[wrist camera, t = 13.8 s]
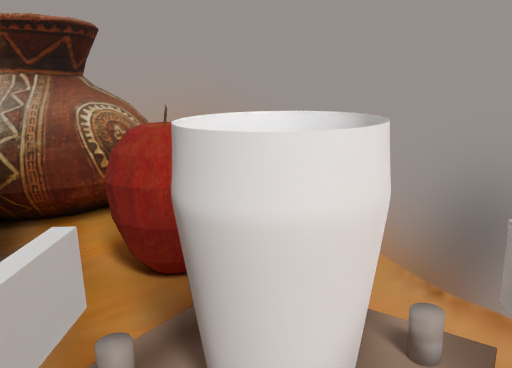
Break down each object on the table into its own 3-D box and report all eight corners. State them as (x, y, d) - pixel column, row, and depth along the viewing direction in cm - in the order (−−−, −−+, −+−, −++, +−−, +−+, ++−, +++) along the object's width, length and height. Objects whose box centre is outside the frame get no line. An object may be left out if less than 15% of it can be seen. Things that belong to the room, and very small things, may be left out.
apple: (225, 239, 44) (219, 99, 41) (245, 282, 34) (239, 104, 31) (119, 250, 42) (103, 103, 39) (109, 300, 32) (87, 110, 29)
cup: (142, 412, 18) (115, 127, 16) (237, 309, 26) (231, 109, 24) (357, 489, 15) (373, 137, 12) (391, 343, 23) (406, 112, 20)
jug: (200, 207, 56) (187, -3, 50) (-98, 266, 40) (-167, -33, 34) (127, 170, 80) (113, 27, 74) (-75, 198, 64) (-114, 17, 58)
